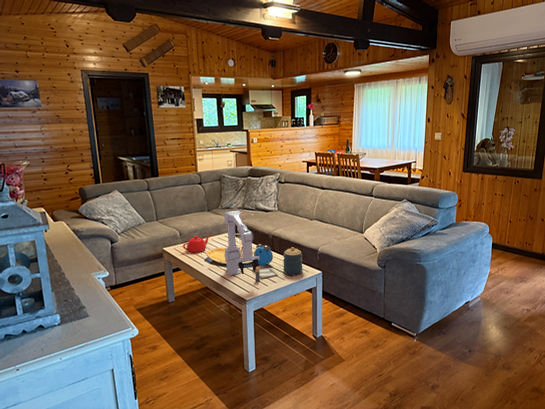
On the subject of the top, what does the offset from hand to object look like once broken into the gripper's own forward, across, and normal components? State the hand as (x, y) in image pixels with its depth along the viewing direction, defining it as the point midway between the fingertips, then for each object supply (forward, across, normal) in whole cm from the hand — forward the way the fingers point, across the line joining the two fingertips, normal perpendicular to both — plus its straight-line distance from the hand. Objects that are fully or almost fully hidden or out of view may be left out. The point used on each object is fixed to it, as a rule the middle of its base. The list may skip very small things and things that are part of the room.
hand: (248, 272), depth 223 cm
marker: (+10, +9, +7) cm, 15 cm away
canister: (+10, +36, +9) cm, 38 cm away
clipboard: (+10, +18, +16) cm, 26 cm away
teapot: (+10, -10, +86) cm, 87 cm away
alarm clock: (+10, +24, +31) cm, 41 cm away
